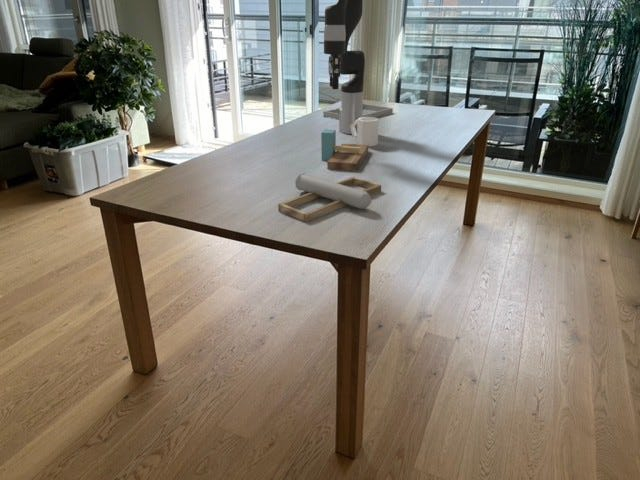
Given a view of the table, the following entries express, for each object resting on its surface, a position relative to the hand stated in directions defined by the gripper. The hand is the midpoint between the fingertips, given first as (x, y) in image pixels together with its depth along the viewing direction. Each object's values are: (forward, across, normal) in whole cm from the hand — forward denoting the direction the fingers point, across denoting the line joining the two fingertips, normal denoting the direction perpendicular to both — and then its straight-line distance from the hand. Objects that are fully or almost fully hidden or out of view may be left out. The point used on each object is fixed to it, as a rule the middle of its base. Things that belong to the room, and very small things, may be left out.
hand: (333, 87), depth 173 cm
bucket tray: (+20, +64, -20) cm, 70 cm away
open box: (+24, -12, -4) cm, 27 cm away
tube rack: (+26, -50, +6) cm, 57 cm away
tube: (+25, -51, +5) cm, 57 cm away
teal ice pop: (+24, -11, -2) cm, 26 cm away
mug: (+23, +10, -13) cm, 28 cm away
